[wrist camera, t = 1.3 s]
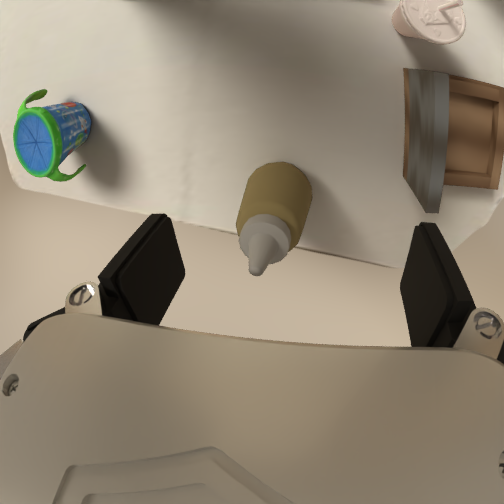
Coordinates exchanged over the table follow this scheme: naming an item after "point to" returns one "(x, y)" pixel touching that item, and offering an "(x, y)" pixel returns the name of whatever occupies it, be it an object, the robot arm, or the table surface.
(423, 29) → the smoothie
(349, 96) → the table surface
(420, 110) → the display stand
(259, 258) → the squeeze bottle
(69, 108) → the snack cup
